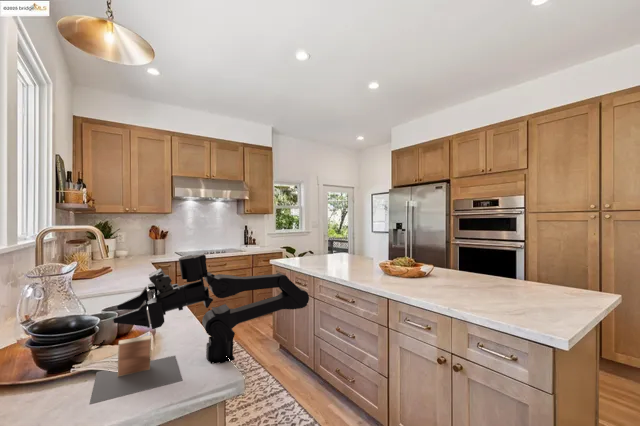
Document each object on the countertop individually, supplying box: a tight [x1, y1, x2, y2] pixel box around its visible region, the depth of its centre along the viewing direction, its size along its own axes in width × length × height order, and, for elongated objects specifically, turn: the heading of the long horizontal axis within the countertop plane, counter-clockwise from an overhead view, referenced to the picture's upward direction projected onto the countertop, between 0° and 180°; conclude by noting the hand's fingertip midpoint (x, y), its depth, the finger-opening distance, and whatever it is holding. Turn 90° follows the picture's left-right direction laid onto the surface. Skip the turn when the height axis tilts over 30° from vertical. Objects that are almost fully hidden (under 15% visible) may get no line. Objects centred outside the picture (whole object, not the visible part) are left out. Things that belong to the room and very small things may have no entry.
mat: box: [89, 355, 183, 405], centre depth 73 cm, size 18×15×1 cm
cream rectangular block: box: [117, 335, 152, 377], centre depth 75 cm, size 7×3×8 cm, turn 123°
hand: (115, 313), depth 72 cm, fingers open, 9 cm apart
